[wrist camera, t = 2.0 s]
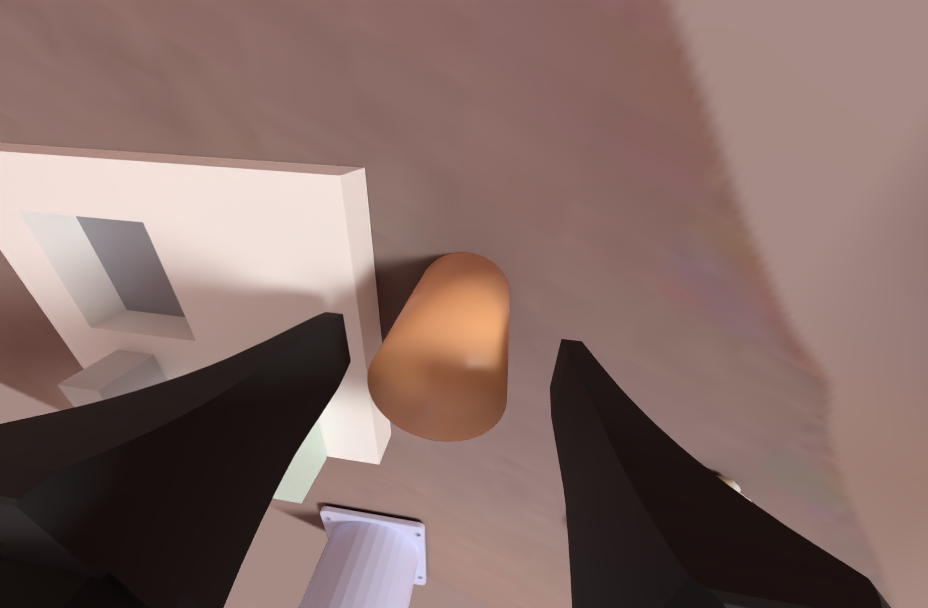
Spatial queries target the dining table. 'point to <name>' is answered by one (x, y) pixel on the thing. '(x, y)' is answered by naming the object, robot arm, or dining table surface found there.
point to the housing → (193, 267)
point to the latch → (302, 468)
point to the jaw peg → (447, 352)
